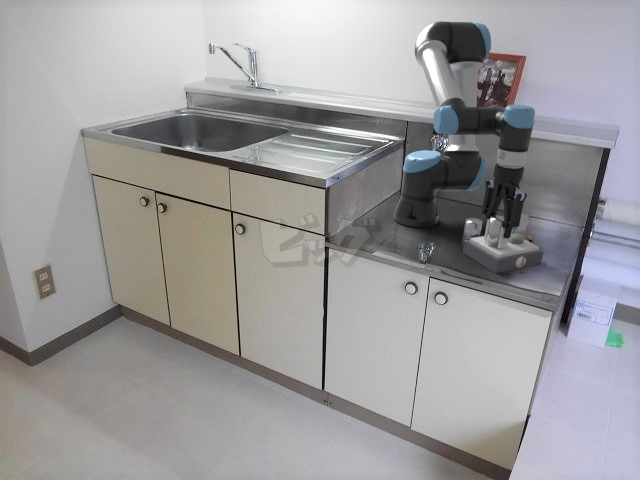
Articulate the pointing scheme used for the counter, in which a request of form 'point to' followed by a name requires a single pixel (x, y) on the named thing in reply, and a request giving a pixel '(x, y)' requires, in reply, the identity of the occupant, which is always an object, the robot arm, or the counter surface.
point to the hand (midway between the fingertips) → (495, 243)
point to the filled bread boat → (528, 237)
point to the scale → (503, 254)
